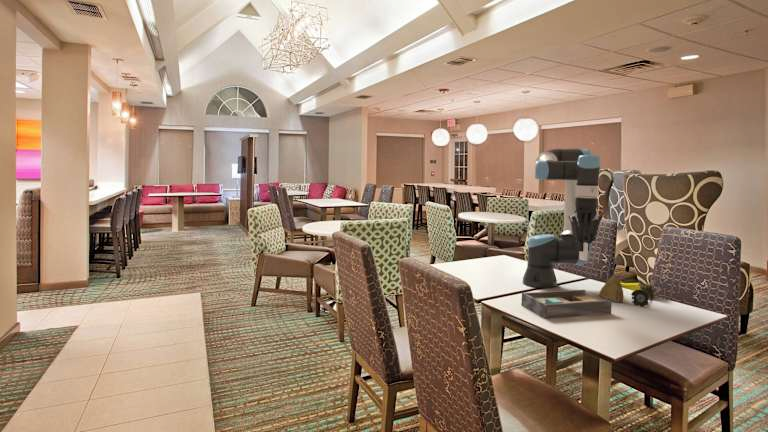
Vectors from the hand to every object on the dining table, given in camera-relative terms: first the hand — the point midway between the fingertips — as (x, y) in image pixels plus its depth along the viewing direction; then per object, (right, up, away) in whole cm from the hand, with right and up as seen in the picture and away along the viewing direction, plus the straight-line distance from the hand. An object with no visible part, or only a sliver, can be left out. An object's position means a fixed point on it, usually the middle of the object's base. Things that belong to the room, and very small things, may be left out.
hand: (583, 259), depth 169 cm
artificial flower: (+34, -19, +19) cm, 43 cm away
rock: (+20, -19, +19) cm, 34 cm away
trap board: (-4, -20, +5) cm, 21 cm away
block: (-9, -17, -1) cm, 20 cm away
